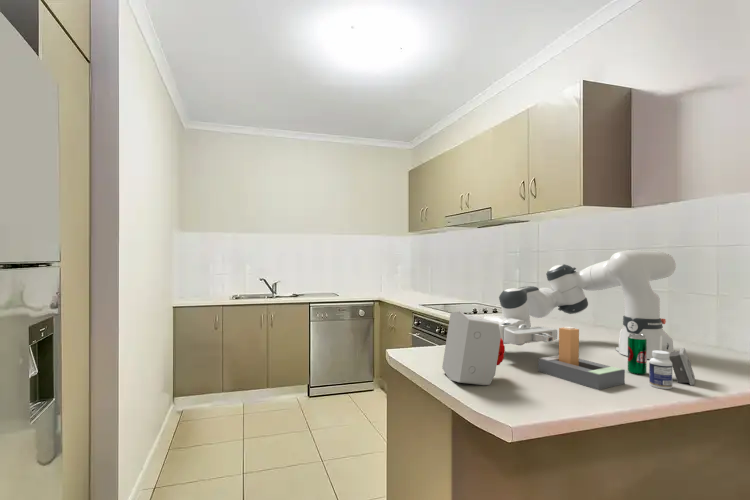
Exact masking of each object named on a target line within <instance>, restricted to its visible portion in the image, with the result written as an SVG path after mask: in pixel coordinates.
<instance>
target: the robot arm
mask: <svg viewBox="0 0 750 500" xmlns="http://www.w3.org/2000/svg"><path fill="white" fill-rule="evenodd" d="M676 267H677V264H676V260H675V259H674V257H673V256H672V255H670V254H669V253H667V252H664V251H659V250H643V249H641V250H640V249H626V250H620V251H618V252H614V253H613V254H612V255H611V256H610V258H609V259H607V260H603V261H600V262H596V263H595V264H591V265H589V266H587V267H585V268H583V269H580V270H578V271H576V270H577V268H576V267H572V266H571V265H569V264H564V263H563V264H555V265H554V266H552V267H551V268H549V270H547V272H546V279H547V282H548V283H549V285H550V287H551V288H550V287H540V288H539V287H537V286H522V287H521V286H520V287H512V288H511V287H510V288H507V289H504V290H503V291H502V292H501V293H500V294H499V296H498V300H499V304H500V307H501V314H502V316H501V315H484V316H483V317H482V318H484V319H486V320H489V321H492V322H495V323H497V324H499V329H500V335H501V338H502V340H503V344H504V345H516V346H523V345H525V344H530V343H531V344H532V343H539V342H544V343H550V342H554V341H555V340H557V339H558V329H557V328H553V327H547V326H531V325H532V323H531V317H532V318H535V319H540V318H544V317H546V316H548V315H549V314H550V313H552V311H553V310H554V309H555V308H557V307H558V308H557V310H558V311H559V312H563V313H565V314H567V315H568V314H569V315H577V314H580V313H582V312H583V311H584V310H586V309H587V308H588V306H589V301H588V298H587V297H586V295H585V292H584V291H588V292H589V291H590V292H591V291H603V290H607V289H612V288H615V287H621V290H622V293H623V299H624V300H623V301H624V302H623V303H624V307H623V308H624V314H623V316H622V326H623V327H622V328H621V329H620V331H619V340H618V346H616V347H615V351H617V352H619V354H621V355H624V356H626V357H628V336H629V334H642V335H645V337H646V339H647V360H650V359H651V358H653V356H652V351H654V350H659V351H666V352H669V355H670V353H671V352H676V351H677V350H674V340H673V338H672V337H671V336H670V335H669V334H668V333H667V332H666V331H665V330H664V329H663V325H665V324H666V323H667V319H666V318H662V317H661V318H660V314H661V313H660V310H661V309H660V306H661V303H660V302H661V301H660V296H659V295H658V294H657V293H656V292H654V290H653V288H652V287H651V284H650V282H652V281H656V280H657V281H658V280H661V279H665V278H666V279H667V278H669V277H671V276H672V275H673V274H674V272H675V270H676ZM671 357H672V356H671ZM668 360H670V358H668Z"/></svg>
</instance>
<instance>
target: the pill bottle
mask: <svg viewBox="0 0 750 500" xmlns="http://www.w3.org/2000/svg"><path fill="white" fill-rule="evenodd" d="M652 356H653V358H651V359H649V365H648V367H649V369H648V371H649V375H648V377H649V385H650V386H651V387H653V388H656V389H660V390H661V389H662V390H672V388H673V367H672V362H671V361H670V360H668V358H669V357H670V356H669V352H666V351H659V350H654V351H652Z"/></svg>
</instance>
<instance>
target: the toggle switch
mask: <svg viewBox="0 0 750 500" xmlns="http://www.w3.org/2000/svg"><path fill="white" fill-rule="evenodd" d="M537 359H538V360H537V361H538V363H537V365H538V368H537V371H538V372H539V373H542V374H545V375H549V376H552V377H556V378H559V379H562V380H564V381H565V380H566V381H569V382H571V383H575V384H579V385H582V386H586V387H588V388H590V389H591V388H592V389H594V390H597V391H599V390H604V389H609V388H611V387H612V388H613V387H617V386H620V385H625V383H626V382H625V377H626V374H625V373H626V372H625V369H623V368H620V367H615V366H612V365H611V366H610V365H608V364H607V365H606V364H604V363H603V364H602V363H598V362H594V361H591V360H590V361H589V360H586V359H582V358H579V366H576V365H572V364H569V363H565V362H561V361H559V354H557V355H552V356H551V355H550V356H543V357H539V358H537Z"/></svg>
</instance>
